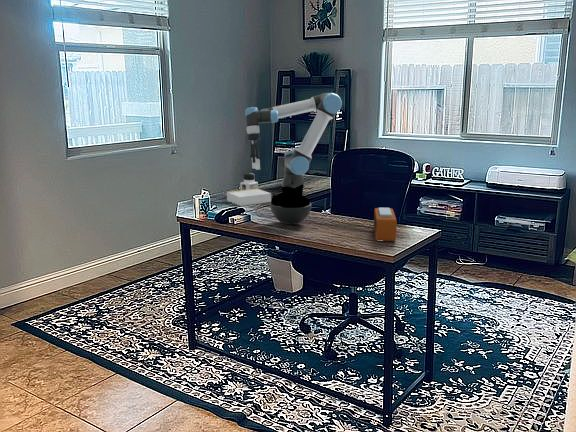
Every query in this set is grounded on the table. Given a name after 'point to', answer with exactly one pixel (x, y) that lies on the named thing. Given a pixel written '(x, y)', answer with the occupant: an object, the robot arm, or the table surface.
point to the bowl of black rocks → (290, 205)
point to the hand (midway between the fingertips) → (256, 169)
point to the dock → (248, 197)
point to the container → (248, 182)
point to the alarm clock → (385, 224)
